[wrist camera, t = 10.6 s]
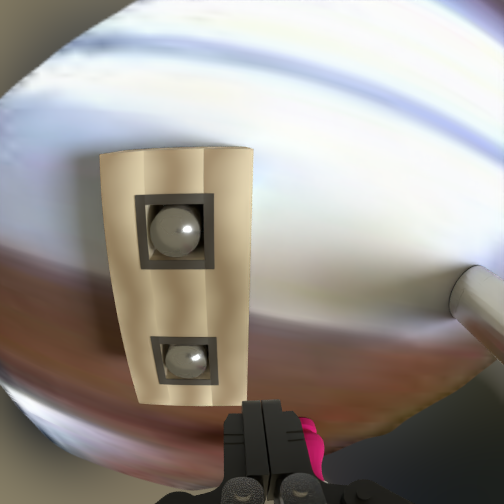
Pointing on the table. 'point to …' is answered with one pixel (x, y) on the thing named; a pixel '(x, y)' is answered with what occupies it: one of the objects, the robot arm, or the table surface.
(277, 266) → the table surface
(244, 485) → the robot arm
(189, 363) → the peg
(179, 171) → the collar block
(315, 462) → the pepper mill
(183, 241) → the peg
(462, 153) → the table surface
